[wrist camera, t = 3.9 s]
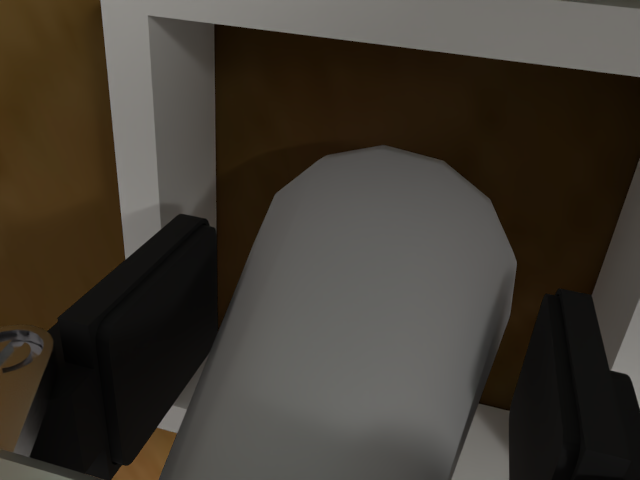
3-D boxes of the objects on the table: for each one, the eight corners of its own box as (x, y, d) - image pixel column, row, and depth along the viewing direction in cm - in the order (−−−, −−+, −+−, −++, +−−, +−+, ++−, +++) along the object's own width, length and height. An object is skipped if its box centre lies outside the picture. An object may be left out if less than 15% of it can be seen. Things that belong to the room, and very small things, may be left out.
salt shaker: (440, 356, 17) (313, 1208, 6) (260, 262, 17) (-212, 902, 6) (563, 187, 14) (826, 1308, 3) (342, 75, 14) (-317, 656, 3)
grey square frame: (752, 6, 11) (825, 28, 9) (575, 454, 17) (588, 548, 14) (173, -52, 14) (96, -48, 11) (189, 358, 19) (141, 423, 17)
